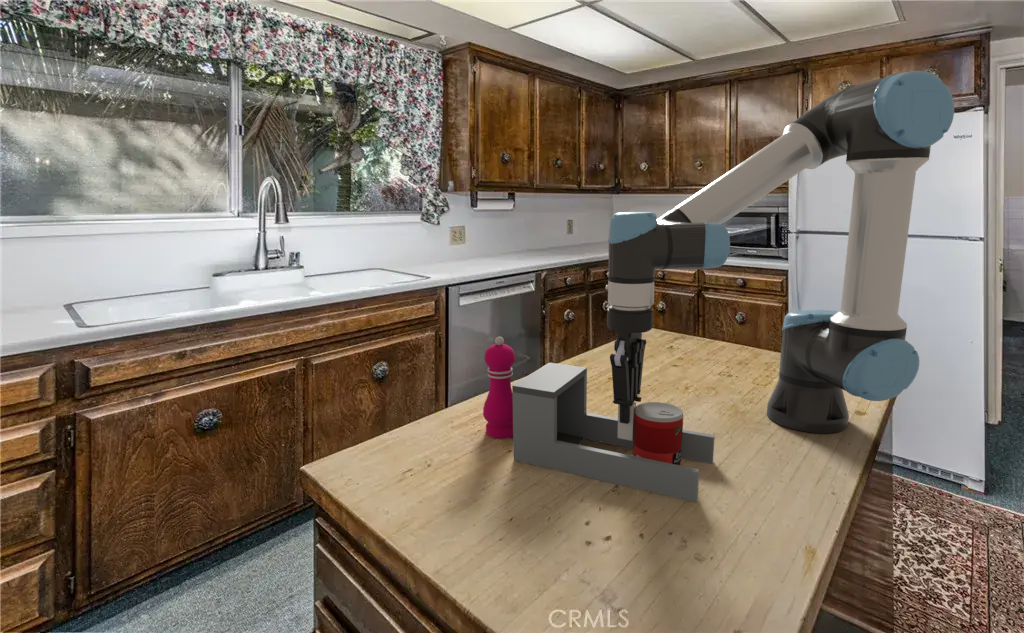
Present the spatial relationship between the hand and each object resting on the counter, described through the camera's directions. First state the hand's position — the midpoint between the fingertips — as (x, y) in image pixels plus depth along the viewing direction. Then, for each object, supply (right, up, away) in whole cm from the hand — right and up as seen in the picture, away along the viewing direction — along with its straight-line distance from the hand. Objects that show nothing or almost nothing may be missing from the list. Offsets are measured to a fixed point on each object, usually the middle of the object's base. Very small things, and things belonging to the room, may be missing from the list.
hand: (626, 437), depth 99 cm
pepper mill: (-22, -2, +15) cm, 27 cm away
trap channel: (-1, -5, +2) cm, 5 cm away
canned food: (+5, -5, -1) cm, 8 cm away
